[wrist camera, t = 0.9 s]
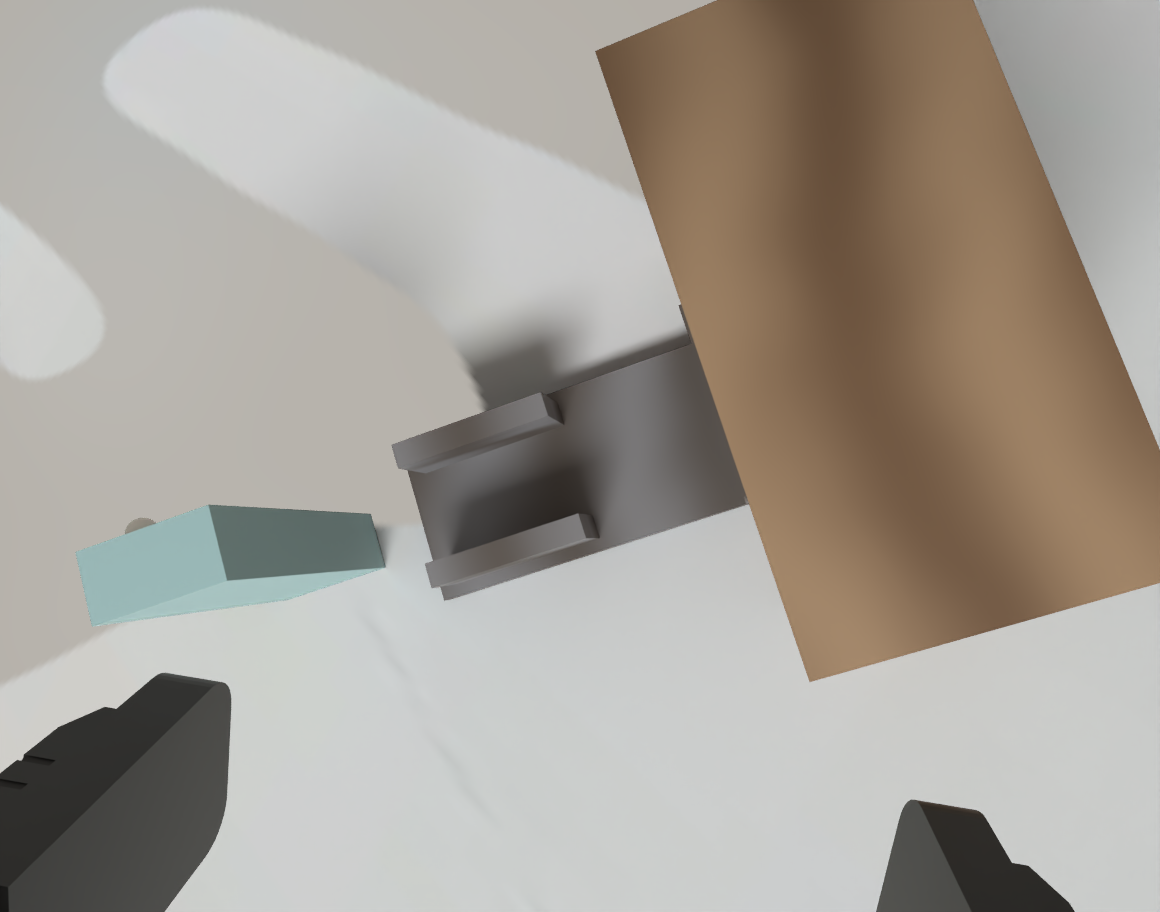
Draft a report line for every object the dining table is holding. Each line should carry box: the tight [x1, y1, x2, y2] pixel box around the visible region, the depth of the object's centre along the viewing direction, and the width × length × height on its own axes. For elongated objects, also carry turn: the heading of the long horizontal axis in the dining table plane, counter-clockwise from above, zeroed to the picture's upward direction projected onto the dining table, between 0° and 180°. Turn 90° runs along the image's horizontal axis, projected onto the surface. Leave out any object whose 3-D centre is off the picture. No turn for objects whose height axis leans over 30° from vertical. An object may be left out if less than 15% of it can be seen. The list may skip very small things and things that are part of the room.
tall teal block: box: [76, 505, 385, 626], centre depth 34 cm, size 5×3×12 cm
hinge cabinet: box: [392, 0, 1160, 682], centre depth 30 cm, size 22×17×15 cm
